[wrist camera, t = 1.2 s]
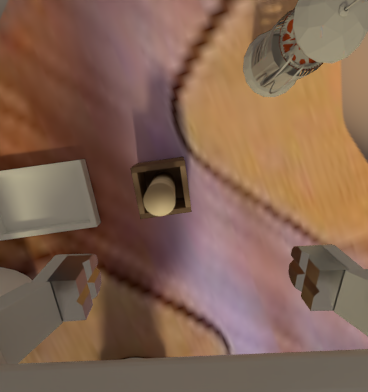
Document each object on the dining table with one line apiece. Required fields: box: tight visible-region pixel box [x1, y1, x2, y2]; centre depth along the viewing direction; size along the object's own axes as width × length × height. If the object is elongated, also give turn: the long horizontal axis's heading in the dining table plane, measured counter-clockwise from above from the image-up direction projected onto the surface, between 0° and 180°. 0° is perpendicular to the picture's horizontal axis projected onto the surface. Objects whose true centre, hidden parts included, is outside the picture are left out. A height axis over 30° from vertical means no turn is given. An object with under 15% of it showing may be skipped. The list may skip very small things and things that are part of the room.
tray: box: [0, 159, 101, 241], centre depth 38 cm, size 12×18×2 cm, turn 98°
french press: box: [243, 0, 368, 97], centre depth 23 cm, size 10×12×25 cm
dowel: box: [143, 172, 175, 216], centre depth 32 cm, size 4×4×12 cm
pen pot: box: [131, 157, 192, 219], centre depth 36 cm, size 8×8×7 cm
